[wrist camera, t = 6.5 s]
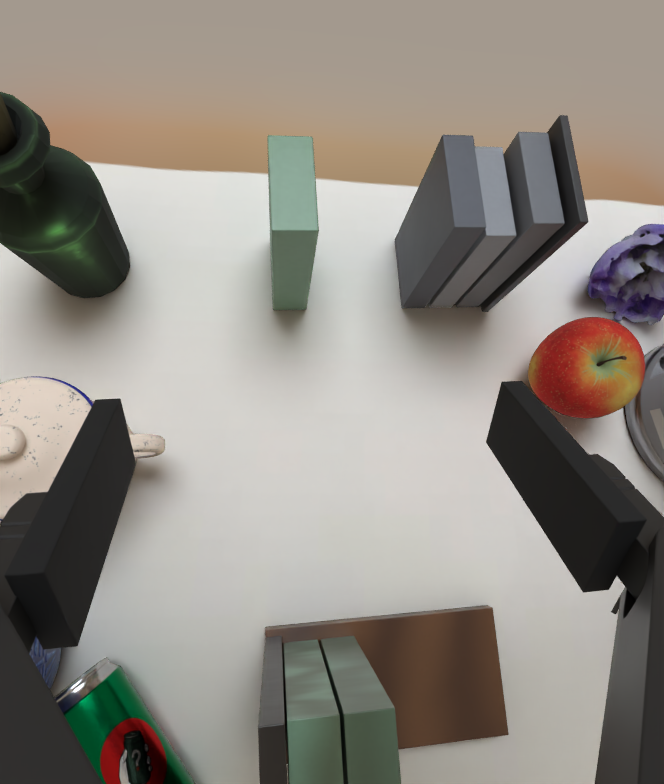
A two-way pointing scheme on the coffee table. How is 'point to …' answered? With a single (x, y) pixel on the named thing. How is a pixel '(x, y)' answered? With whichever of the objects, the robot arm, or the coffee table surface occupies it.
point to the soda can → (119, 729)
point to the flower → (632, 276)
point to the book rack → (375, 693)
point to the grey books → (488, 218)
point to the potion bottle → (55, 208)
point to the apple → (587, 368)
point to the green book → (292, 219)
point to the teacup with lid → (45, 434)
